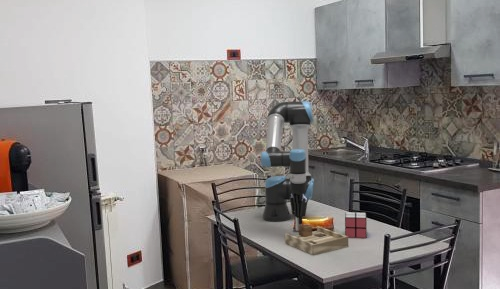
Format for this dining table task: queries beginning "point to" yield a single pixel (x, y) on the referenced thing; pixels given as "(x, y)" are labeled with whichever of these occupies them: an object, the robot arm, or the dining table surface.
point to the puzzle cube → (355, 225)
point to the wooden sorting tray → (318, 241)
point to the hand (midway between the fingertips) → (298, 230)
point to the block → (305, 230)
